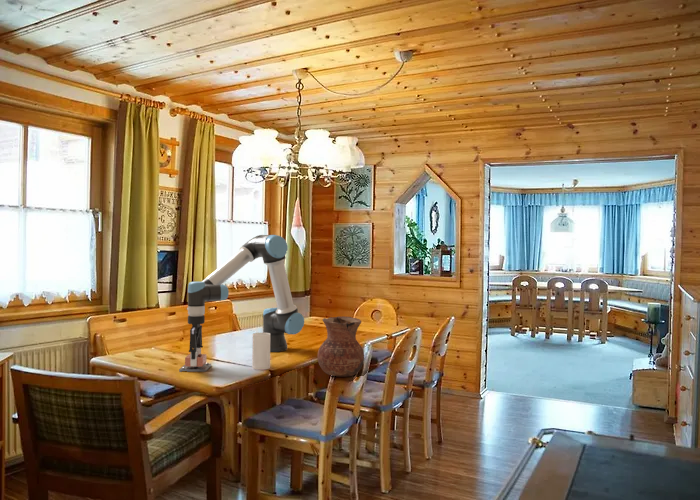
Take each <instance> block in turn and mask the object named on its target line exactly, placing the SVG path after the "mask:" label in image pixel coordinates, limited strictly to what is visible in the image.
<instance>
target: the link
mask: <svg viewBox="0 0 700 500" xmlns="http://www.w3.org/2000/svg"><path fill="white" fill-rule="evenodd" d="M190 360H191V353H188V354H187V356H185V357H184V365H185V366H190ZM206 363H207V353H201V354H198V357H197V366H204V365H205V364H206Z"/></svg>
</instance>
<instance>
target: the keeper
mask: <svg viewBox="0 0 700 500" xmlns="http://www.w3.org/2000/svg"><path fill="white" fill-rule="evenodd" d="M196 352H197V357H198V348H197V349H196ZM211 367H212V363H209V362H206V364H205V365H204V366H185V364H184V365H182V366H181V367H180V368H179V369H178V370H179V373H180V372H181V373H182V371H187V372H189V373H191V372H193V373H196V372H197V373H200V372H203V373H204V372H207V371H208V370H209V369H210V368H211ZM187 372H186V373H187Z"/></svg>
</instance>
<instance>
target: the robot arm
mask: <svg viewBox="0 0 700 500" xmlns="http://www.w3.org/2000/svg"><path fill="white" fill-rule="evenodd" d="M288 247H289V246H288V243H287V241H286V239H285V238H284V237H283V236H281V235H278V234H259V235H256V236H254V237H253V238H251V239H249V240H248V241H246V242H245V243H244V244H243V245H241V246H240V248H239V251H238V252H236V253H234V254H233V256H231V257H230V258H229V259H227V261H225V262H224V263H222V265H220V266H219V267H217V268H216V269H215V270H214V271H213V272H212V273H210V274H209V275H208V276H207V277H205V278H203V280H201V281H190V282H188V286H187V308H186V310H187V324H188V325H191V328H190V330H189V350H188V353H190V354H191V360H190V366H197V352H196V349H197V348H198V354H202V348H203V347H204V345H203V332H202V330H203V324H205V317H206V316H205V313H206V312H205V311H206V310H205V309H206V308H205V306H206V303H205V302H217V301H218V302H221V301H226V300H227V299H228V297H229V294H230V293H229V292H230V291H229V287H228V286H227V285H225V284H224V283H225V282H226V281H227V280H229V279H230V278H231V277H232V276H234V275H235V274H236V273H237V272H238V271H239V270H241V269H242V268H243V267H244V266H245V265H247V264H248V263H249V262H250V263H252V262H254V261H255V260H256V259H258V258H262V261H263V264H265V265H266V266H267V269H268V273H269V277H270V283H271V284H272V285H271V286H272V290H273V294H274V299H275V303H276V307H268V308H264V310H263V313H262V333H270V353H275V352H277V353H279V352H284V351H287V350H288V343H287V339H286V336H285V334H287V335H297V334H299V333H300V332H301V331H302V330H303V328H304V325H305V317H304V315H302V313H300V312H299V310H298V307H297V305H295V304H294V301H293V296H292V292H291V288H290V283H289V279H288V275H287V271H286V267H285V261H286V258H287V257H286V254H287V253H288V252H287V251H288Z"/></svg>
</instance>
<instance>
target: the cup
mask: <svg viewBox="0 0 700 500" xmlns="http://www.w3.org/2000/svg"><path fill="white" fill-rule="evenodd" d="M251 364H252V365H251V368H252V369H253V370H257V371H260V370H269V369H270V368H271V352H270V333H263V332H255V333H252V363H251Z"/></svg>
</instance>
